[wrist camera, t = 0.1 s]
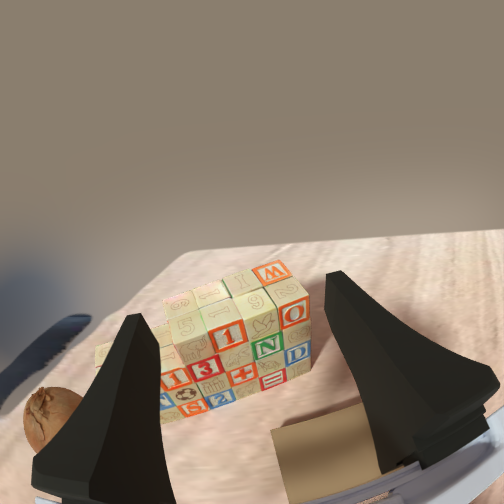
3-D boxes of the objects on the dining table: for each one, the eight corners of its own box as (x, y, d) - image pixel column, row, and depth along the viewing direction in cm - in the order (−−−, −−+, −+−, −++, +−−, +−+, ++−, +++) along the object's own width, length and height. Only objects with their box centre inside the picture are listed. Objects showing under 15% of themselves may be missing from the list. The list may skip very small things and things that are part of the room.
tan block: (410, 464, 20) (419, 456, 18) (291, 507, 19) (289, 505, 18) (382, 404, 27) (387, 391, 25) (273, 439, 26) (270, 429, 24)
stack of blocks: (137, 432, 27) (76, 373, 21) (131, 390, 32) (80, 325, 26) (312, 370, 32) (310, 292, 25) (288, 335, 37) (279, 256, 30)
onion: (57, 419, 28) (9, 376, 22) (113, 406, 30) (69, 358, 25) (60, 482, 20) (0, 447, 15) (124, 474, 23) (68, 439, 17)
